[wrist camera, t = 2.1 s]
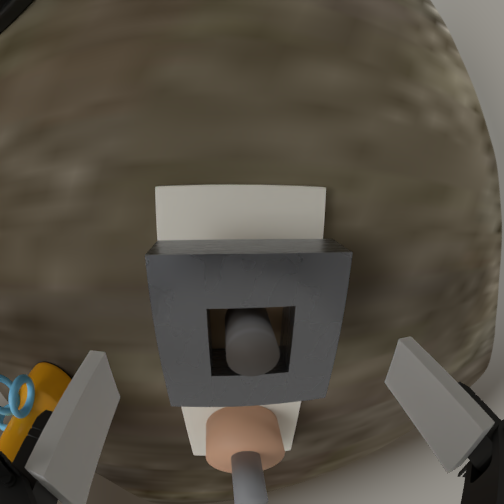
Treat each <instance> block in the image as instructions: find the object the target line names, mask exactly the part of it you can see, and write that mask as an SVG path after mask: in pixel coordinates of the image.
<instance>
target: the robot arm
mask: <svg viewBox="0 0 504 504" xmlns="http://www.w3.org/2000/svg"><path fill="white" fill-rule="evenodd" d="M31 2H32V0H0V32H1V31H3V30H4V29H5V28H6V27H7V26H8V25H9V24H10V23H11V22H12V21H13V20H14V19H15V18H16V17H17V16H18V15H19V14H20V13H21V12H22V11H23V10H24V9H25V8H26V7H27V6H28V5H29V4H30V3H31ZM385 384H386V385H387V387H388V388H389V389H390V391H391V392H392V394H393V395H394V396H395V398H396V399H397V401H398V402H399V403H400V405H401V406H402V408H403V409H404V410H405V412H406V413H407V415H408V416H409V418H410V419H411V420H412V422H413V423H414V425H415V426H416V428H417V429H418V431H419V432H420V433H421V435H422V436H423V438H424V439H425V441H426V442H427V444H428V445H429V446H430V448H431V450H432V451H433V452H434V454H435V456H436V457H437V459H438V460H439V461H440V463H441V465H442V466H443V468H444V469H445V471H446V472H447V473H450V472H451V471H453V470H454V469H456V468H457V467H459V466H461V464H462V463H463V462H464V461H465V460H466V459H467V458H469V460H470V461H469V462H468V463H467V465H465V467H464V468H463V469H462V470H461V471H460V472H459V474H458V477H459V476H461V475H462V473H464V472H465V471H466V473H465V474H464V475H463V477H465V483H464V489H463V494H462V500H461V504H504V420H502V421H501V420H500V419H499V418H498V417H497V416H496V415H495V414H494V413H493V412H492V410H491V409H490V408H489V407H488V406H487V405H486V404H485V403H484V402H483V401H481V399H480V398H479V397H478V396H477V395H475V393H474V392H473V391H472V390H471V388H470V387H468V386H466V385H465V384H463V383H461V382H458V383H457V382H456V380H455V379H454V378H453V377H452V376H451V375H450V374H449V373H448V372H447V371H446V370H445V369H444V368H443V367H442V366H441V365H440V364H439V363H438V362H437V361H436V360H435V359H434V358H433V357H432V356H431V355H430V354H428V353H427V352H426V351H425V350H424V349H423V348H422V347H421V346H420V345H419V344H418V343H417V342H416V341H415V340H414V339H413V338H412V337H411V336H410V337H405V338H400V339H399V340H398V343H397V346H396V350H395V353H394V356H393V359H392V362H391V365H390V368H389V371H388V374H387V376H386V379H385ZM119 400H120V395H119V392H118V390H117V387H116V384H115V381H114V378H113V375H112V372H111V369H110V366H109V363H108V360H107V356H106V353H105V352H101V351H92V350H90V352H89V353H88V355H87V356H86V358H85V359H84V361H83V362H82V364H81V366H80V367H79V369H78V370H77V372H76V374H75V375H74V377H73V378H72V380H71V382H70V383H69V385H68V387H67V388H66V390H65V392H64V394H63V395H62V397H61V399H60V400H59V402H58V404H57V406H56V407H55V409H54V411H53V412H52V411H49V410H45V411H43V412H42V413H41V414H40V415H39V416H37V418H36V419H35V421H34V423H33V425H32V428H30V430H29V432H28V436H26V437H25V439H24V441H23V443H22V445H21V447H20V449H19V451H18V452H17V454H16V456H15V458H14V460H13V462H11V461H10V460H9V459H8V458H7V457H6V455H5V454H4V453H3V452H2V451H0V504H57V500H59V501H60V502H61V503H63V504H86V501H87V497H88V493H89V490H90V486H91V483H92V479H93V476H94V473H95V469H96V466H97V463H98V460H99V457H100V453H101V450H102V447H103V444H104V441H105V438H106V436H107V433H108V430H109V427H110V424H111V421H112V418H113V416H114V413H115V410H116V408H117V405H118V402H119Z"/></svg>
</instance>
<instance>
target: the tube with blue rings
mask: <svg viewBox="0 0 504 504" xmlns="http://www.w3.org/2000/svg"><path fill="white" fill-rule="evenodd" d="M71 380H72V379H71V378H70V377H69V376H68V375H67V374H66V373H65V372H64V371H63V370H61V369H60V368H58V367H57V366H55V365H53V364H50V363H46V362H41V363H38V364H36V366H35V367H34V368H33V369H32V371H31V372H30V373H29V375H25V374H22V375H19V376H18V377H17V378H16V379H15V380H14V381H13V382H12V381H11V380H10V379H8V378H7V377H5V376H3V375H1V374H0V382H2V383H4V384H5V385H7V386H8V387H9V388H10V391H9V404H8V405H6V406H4V407H1V406H0V428H1V430H3V431H4V432H3V434H2V435H1V437H0V451H2V452H3V453H4V454H5V455H6V457H7V458H8V459H9V460H10V461H11V462H13V460H14V458H15V456H16V454H17V452H18V451H19V449H20V447H21V445H22V443H23V441H24V439H25V437H26V436H28V432H29V430H30V428H32V425H33V423H34V421H35V419H36V418H37V416H39V415H40V414H41V413H42V412H43V411H45V410H49V411H52V412H53V411H54V409H55V407H56V406H57V404H58V402H59V400H60V399H61V397H62V395H63V394H64V392H65V390H66V388H67V387H68V385H69V383H70V382H71ZM5 415H6V416H7V415H8V416H9V415H13V416H12V418H11V420H10V422H9V423H8V424H7V425H5V424H3V419H4V417H5Z"/></svg>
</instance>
